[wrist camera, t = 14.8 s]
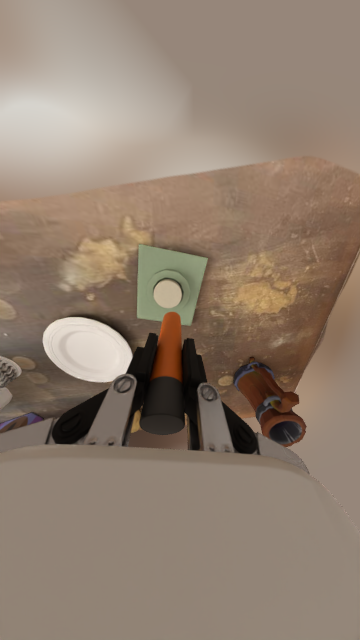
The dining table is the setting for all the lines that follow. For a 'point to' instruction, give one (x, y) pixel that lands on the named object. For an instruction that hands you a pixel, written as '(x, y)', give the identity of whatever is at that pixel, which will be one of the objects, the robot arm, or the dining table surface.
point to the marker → (165, 382)
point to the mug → (270, 403)
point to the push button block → (168, 266)
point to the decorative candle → (8, 371)
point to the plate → (87, 349)
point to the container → (4, 397)
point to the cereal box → (20, 422)
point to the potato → (136, 421)
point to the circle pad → (167, 293)
